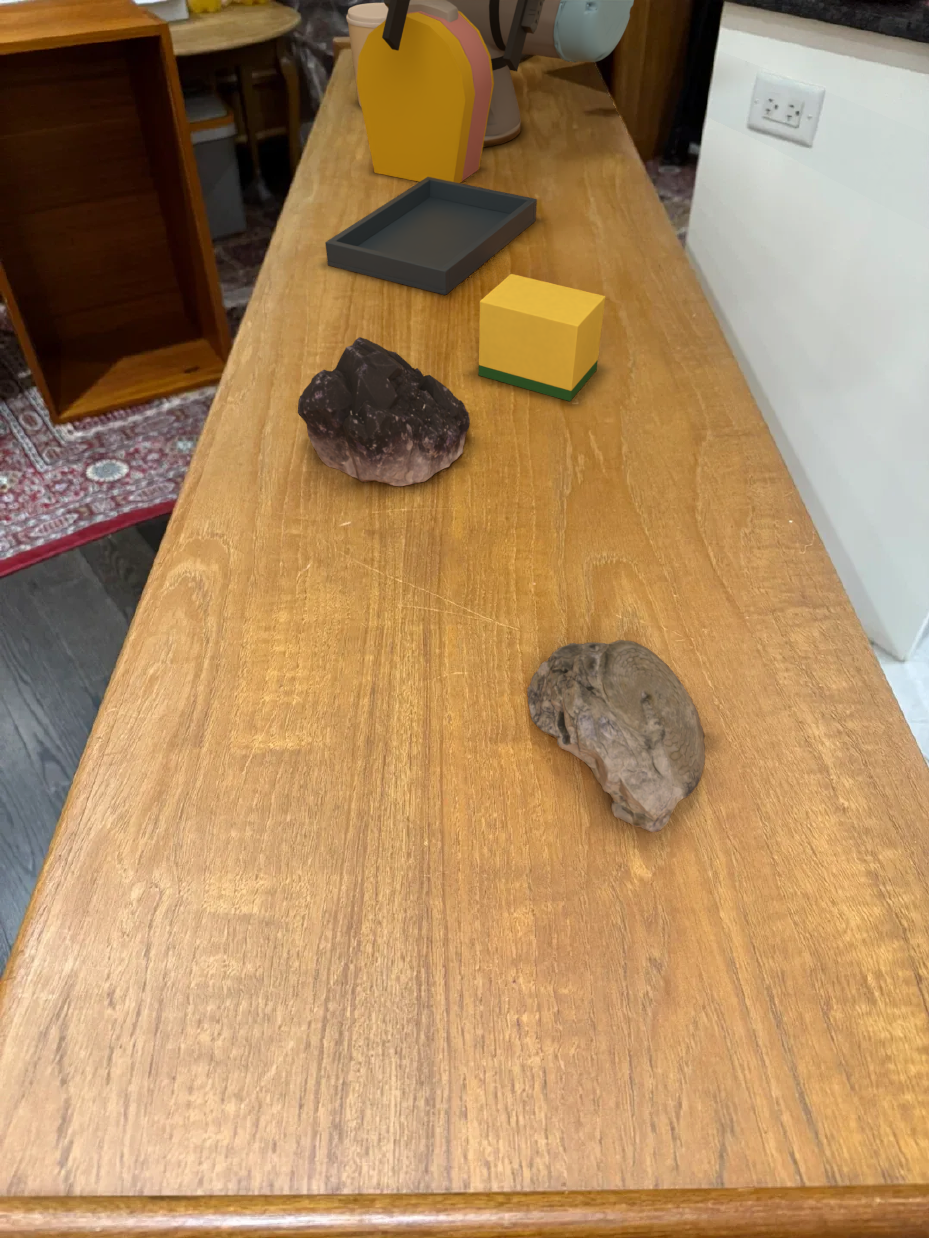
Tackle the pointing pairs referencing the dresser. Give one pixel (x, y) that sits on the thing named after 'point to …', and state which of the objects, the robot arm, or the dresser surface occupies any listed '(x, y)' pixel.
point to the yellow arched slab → (426, 95)
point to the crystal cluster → (382, 418)
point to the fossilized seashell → (623, 725)
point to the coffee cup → (363, 27)
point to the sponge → (540, 336)
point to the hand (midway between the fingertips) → (448, 55)
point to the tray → (432, 234)
